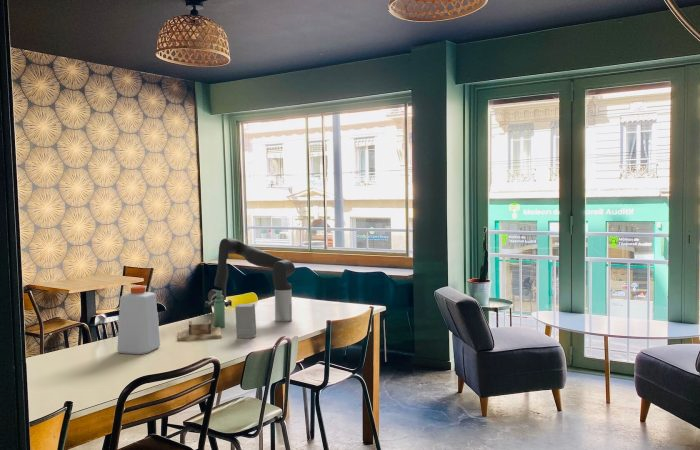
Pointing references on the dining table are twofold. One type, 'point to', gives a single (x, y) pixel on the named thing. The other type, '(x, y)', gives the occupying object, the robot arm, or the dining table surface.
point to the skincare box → (245, 320)
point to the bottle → (219, 311)
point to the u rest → (199, 332)
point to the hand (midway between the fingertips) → (218, 305)
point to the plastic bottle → (138, 322)
